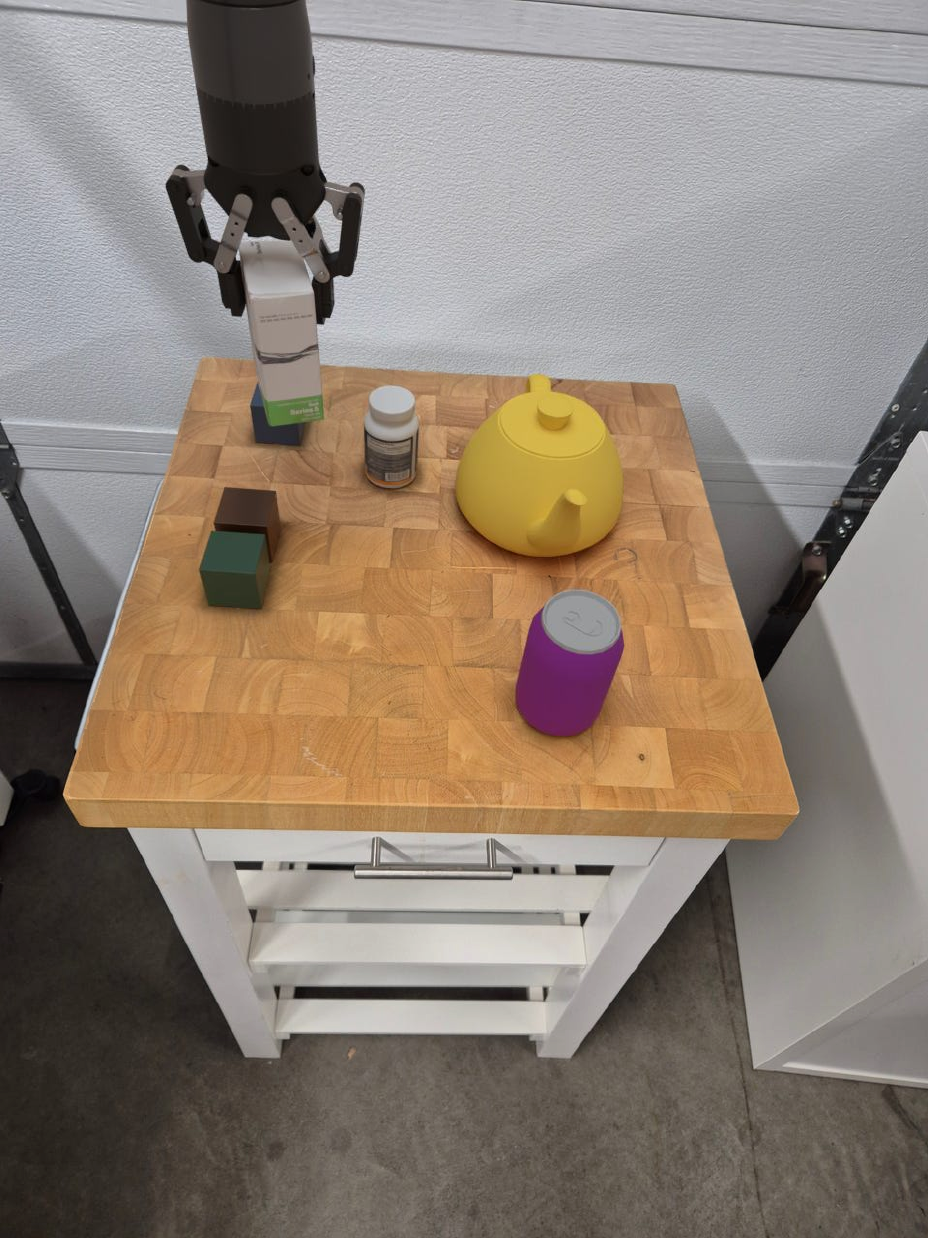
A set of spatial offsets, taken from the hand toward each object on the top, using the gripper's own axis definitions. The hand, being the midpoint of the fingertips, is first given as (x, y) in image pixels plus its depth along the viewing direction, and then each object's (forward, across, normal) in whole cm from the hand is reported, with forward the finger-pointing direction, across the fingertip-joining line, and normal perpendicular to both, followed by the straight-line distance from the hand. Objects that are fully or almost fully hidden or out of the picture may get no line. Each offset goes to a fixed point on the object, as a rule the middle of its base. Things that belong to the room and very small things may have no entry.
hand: (280, 314), depth 65 cm
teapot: (+24, +24, +5) cm, 34 cm away
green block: (+24, -5, -9) cm, 26 cm away
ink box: (+8, 0, 0) cm, 8 cm away
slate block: (+24, -5, +15) cm, 29 cm away
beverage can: (+24, +26, -19) cm, 40 cm away
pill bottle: (+24, +8, +9) cm, 27 cm away
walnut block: (+24, -5, -3) cm, 24 cm away
